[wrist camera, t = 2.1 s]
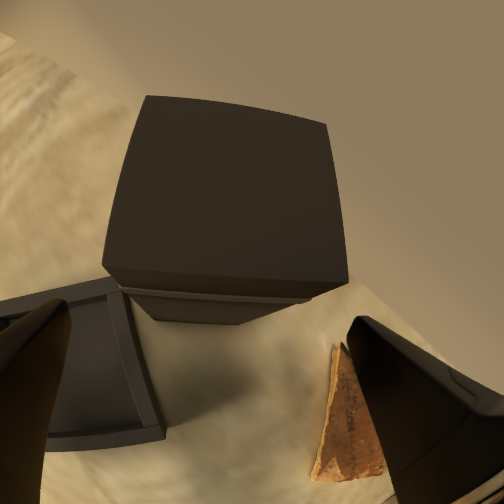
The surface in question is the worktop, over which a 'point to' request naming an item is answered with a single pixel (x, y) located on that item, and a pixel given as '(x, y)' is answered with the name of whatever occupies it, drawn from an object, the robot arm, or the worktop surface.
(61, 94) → the worktop surface
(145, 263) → the dark banded block
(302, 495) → the worktop surface
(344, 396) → the shard
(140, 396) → the base pad
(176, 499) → the worktop surface
